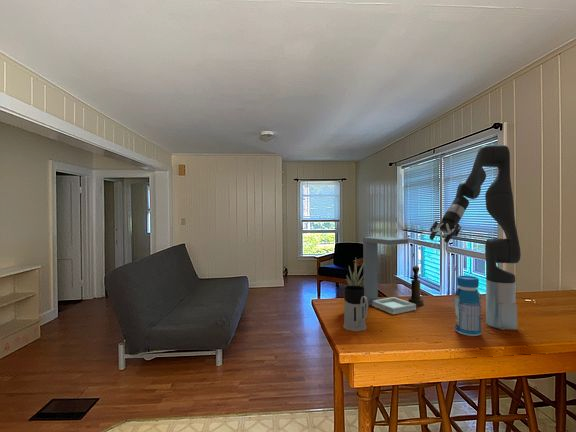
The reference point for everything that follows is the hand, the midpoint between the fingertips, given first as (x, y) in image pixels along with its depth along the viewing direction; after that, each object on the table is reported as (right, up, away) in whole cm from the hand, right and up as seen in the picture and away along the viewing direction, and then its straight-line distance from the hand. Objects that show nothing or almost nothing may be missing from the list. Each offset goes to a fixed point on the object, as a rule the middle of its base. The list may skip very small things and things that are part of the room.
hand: (438, 240), depth 154 cm
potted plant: (-45, -30, -20) cm, 58 cm away
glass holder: (-48, -31, -38) cm, 68 cm away
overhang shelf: (-28, -30, -12) cm, 43 cm away
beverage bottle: (-9, -30, -42) cm, 52 cm away
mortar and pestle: (-14, -30, -7) cm, 34 cm away
